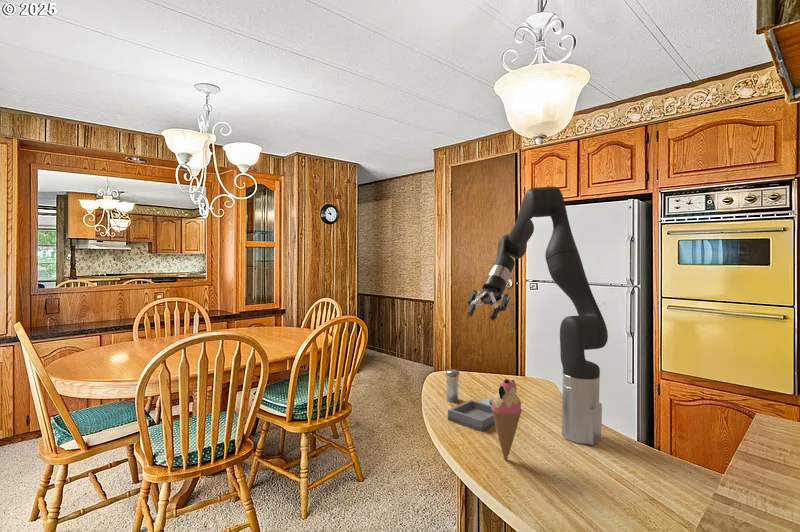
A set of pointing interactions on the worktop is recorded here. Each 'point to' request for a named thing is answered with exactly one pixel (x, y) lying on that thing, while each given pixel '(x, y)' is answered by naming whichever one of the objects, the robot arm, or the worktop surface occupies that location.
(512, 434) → the ice cream cone
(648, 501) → the worktop surface
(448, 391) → the salt shaker
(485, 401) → the pot lid
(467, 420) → the tray
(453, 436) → the worktop surface
